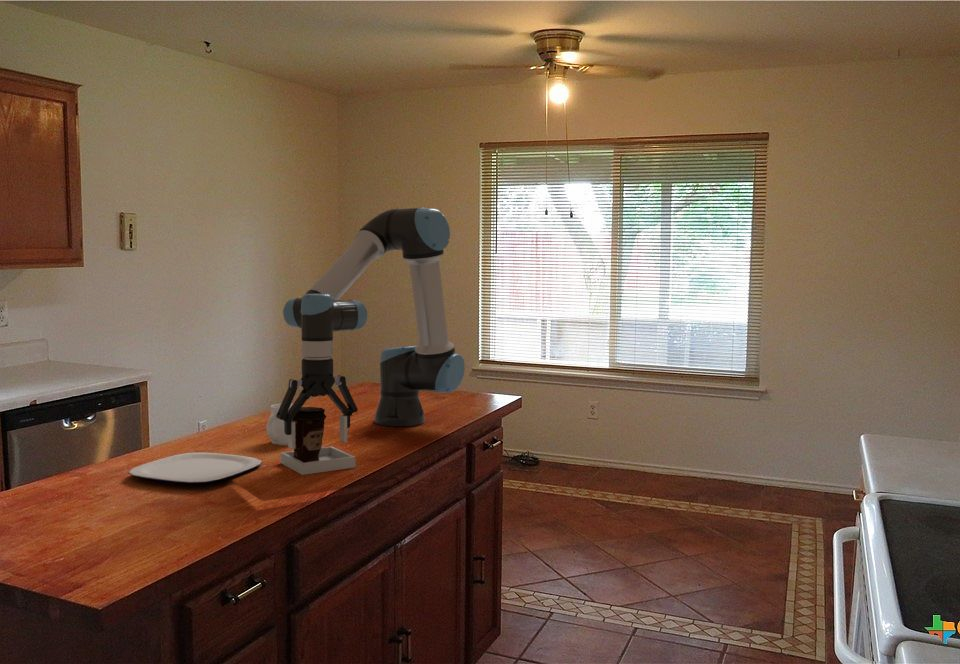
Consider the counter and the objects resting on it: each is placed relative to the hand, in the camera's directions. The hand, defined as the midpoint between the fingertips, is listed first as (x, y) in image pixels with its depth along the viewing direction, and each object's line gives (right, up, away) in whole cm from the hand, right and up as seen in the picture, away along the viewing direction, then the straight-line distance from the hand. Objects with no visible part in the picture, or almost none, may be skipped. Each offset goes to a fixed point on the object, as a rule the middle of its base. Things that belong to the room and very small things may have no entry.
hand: (318, 444), depth 200 cm
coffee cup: (-2, -4, -1) cm, 5 cm away
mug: (-14, -3, +23) cm, 28 cm away
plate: (-27, -6, -6) cm, 29 cm away
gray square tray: (0, -5, 0) cm, 5 cm away
